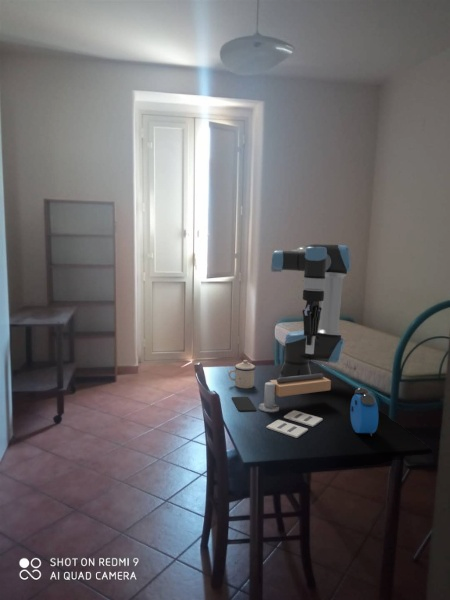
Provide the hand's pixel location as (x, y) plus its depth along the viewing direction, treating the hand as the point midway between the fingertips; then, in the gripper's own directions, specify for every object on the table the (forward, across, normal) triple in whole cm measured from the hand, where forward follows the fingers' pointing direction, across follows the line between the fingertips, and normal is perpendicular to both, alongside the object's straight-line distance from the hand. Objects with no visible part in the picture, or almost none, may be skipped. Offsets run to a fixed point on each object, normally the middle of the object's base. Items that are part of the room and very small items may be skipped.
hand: (309, 353), depth 164 cm
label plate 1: (+25, +14, -1) cm, 28 cm away
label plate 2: (+25, +2, 0) cm, 25 cm away
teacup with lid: (+25, -17, -38) cm, 48 cm away
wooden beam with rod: (+23, -10, -9) cm, 27 cm away
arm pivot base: (+25, 0, -15) cm, 29 cm away
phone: (+25, +2, -25) cm, 36 cm away
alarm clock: (+25, -1, +21) cm, 33 cm away
